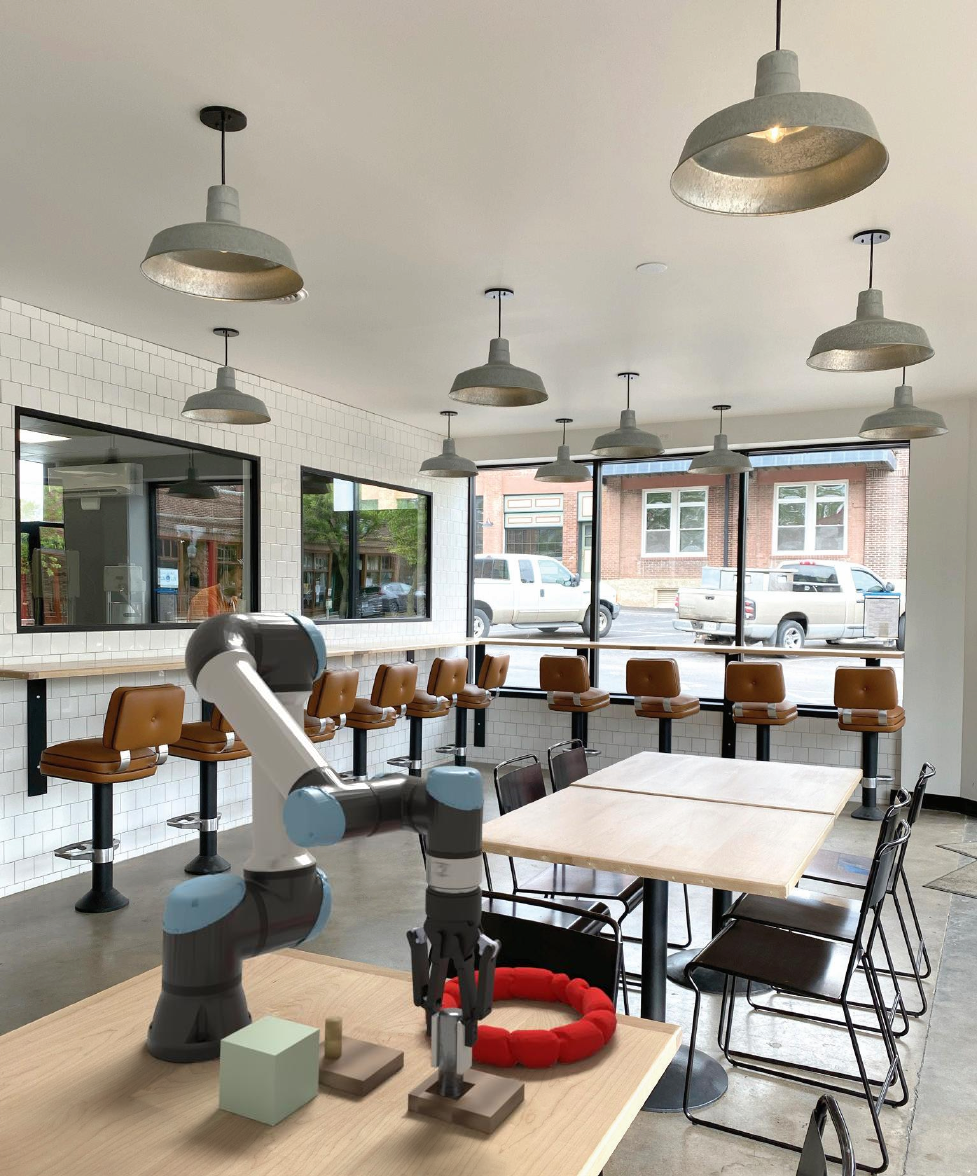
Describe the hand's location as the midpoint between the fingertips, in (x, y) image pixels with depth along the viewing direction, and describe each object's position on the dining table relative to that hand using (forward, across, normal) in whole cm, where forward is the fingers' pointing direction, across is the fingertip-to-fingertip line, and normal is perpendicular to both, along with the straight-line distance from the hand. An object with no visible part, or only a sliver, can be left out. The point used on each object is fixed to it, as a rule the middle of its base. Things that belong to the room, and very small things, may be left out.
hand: (451, 1066), depth 122 cm
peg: (+3, 0, 0) cm, 3 cm away
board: (+5, -17, +1) cm, 18 cm away
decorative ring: (+5, -2, +26) cm, 27 cm away
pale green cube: (+5, -21, -11) cm, 24 cm away
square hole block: (+5, +2, +1) cm, 5 cm away
